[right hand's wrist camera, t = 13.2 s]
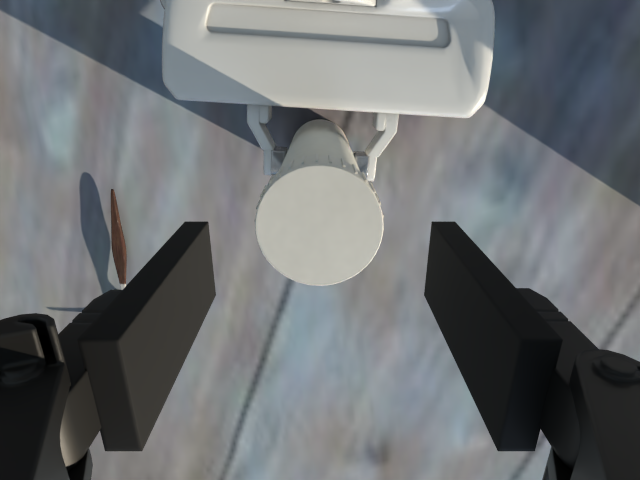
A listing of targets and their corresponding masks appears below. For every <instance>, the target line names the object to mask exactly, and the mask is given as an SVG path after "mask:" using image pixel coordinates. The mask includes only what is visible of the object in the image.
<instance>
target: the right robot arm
mask: <svg viewBox="0 0 640 480" xmlns="http://www.w3.org/2000/svg"><path fill="white" fill-rule="evenodd" d="M215 296H216V292H215V283H214V273H213V264H212V254H211V244H210V235H209V225H208V222H184V223H183V225H182V226H181V227H180V228H179V229H178V230H177V231H176V232H175V233H174V234H173V235H172V237H171V238H170V239H169V240H168V241H167V242H166V243H165V244H164V245H163V246H162V247H161V249H160V250H159V251H158V252H157V253H156V254H155V255H154V256H153V257H152V258H151V259H150V261H149V262H148V263H147V264H146V265H145V266H144V267H143V268H142V269H141V270H140V272H139V273H138V274H137V275H136V276H135V277H134V278H133V279H132V280H131V281H130V282H129V284H128V285H127V286H126V287H125V288H124V289H123V290H110V291H108V292H106V293H104V294H103V295H101V296H99V297H97V298H95V299H94V300H93V301H92V302H91V303H90V304H89V305H88V306H87V307H85V308H84V309H83V310H82V313H79V314H78V315H77V316H76V317H75V318H74V319H73V320H72V321H73V322H72V323H69V324H68V325H67V326H66V327H65V328H64V329H63V330H62V331H61V332H60V333H59V334H58V332H57V329H56V325H55V321H54V319H53V318H51V317H50V316H48V315H45V314H37V313H34V314H23V315H17V316H13V317H9V318H5V319H2V320H0V480H91V475H92V467H93V464H92V458H91V454H90V450H89V447H90V445H91V444H92V442H93V440H94V439H95V437H96V436H97V434H98V432H99V431H100V432H101V436H102V440H103V444H104V448H105V451H142V450H143V448H144V446H145V444H146V442H147V440H148V437H149V435H150V433H151V431H152V429H153V427H154V425H155V423H156V420H157V418H158V416H159V414H160V412H161V410H162V408H163V406H164V404H165V401H166V399H167V397H168V395H169V393H170V391H171V389H172V387H173V384H174V382H175V380H176V378H177V376H178V374H179V372H180V370H181V368H182V365H183V363H184V361H185V359H186V357H187V355H188V353H189V351H190V348H191V346H192V344H193V342H194V340H195V338H196V336H197V334H198V332H199V329H200V327H201V325H202V323H203V321H204V319H205V317H206V315H207V313H208V310H209V308H210V306H211V304H212V302H213V300H214V298H215ZM424 296H425V298H426V300H427V302H428V304H429V306H430V308H431V310H432V313H433V315H434V317H435V319H436V321H437V323H438V325H439V327H440V329H441V332H442V334H443V336H444V338H445V340H446V342H447V344H448V346H449V349H450V351H451V353H452V355H453V357H454V359H455V361H456V363H457V365H458V368H459V370H460V372H461V374H462V376H463V378H464V380H465V382H466V384H467V387H468V389H469V391H470V393H471V395H472V397H473V399H474V401H475V404H476V406H477V408H478V410H479V412H480V414H481V416H482V418H483V420H484V423H485V425H486V427H487V429H488V431H489V433H490V435H491V437H492V440H493V442H494V444H495V446H496V448H497V450H498V451H535V448H536V444H537V440H538V436H539V432H540V428H541V430H542V432H543V433H544V435H545V437H546V438H547V440H548V441H549V443H550V445H551V450H550V454H549V457H548V461H547V465H546V468H545V472H544V476H543V479H542V480H640V362H639V361H637V360H634V359H632V358H630V357H628V356H626V355H623V354H619V353H616V352H612V351H609V350H600V349H598V348H597V347H596V346H595V345H594V344H593V343H592V342H591V341H590V340H589V339H588V338H587V337H586V336H585V335H584V334H583V333H582V332H581V331H580V330H579V329H578V328H577V327H576V326H575V325H574V324H573V323H572V322H571V321H568V318H566V317H565V316H564V315H563V314H562V313H561V312H558V309H557V308H556V307H555V306H554V305H553V304H552V303H551V302H550V301H549V300H548V299H547V298H546V297H544V296H542V295H540V294H538V293H537V292H535V291H533V290H531V289H529V288H515V287H514V286H513V285H512V284H511V282H510V281H509V280H508V279H507V278H506V277H505V276H504V275H503V274H502V273H501V272H500V270H499V269H498V268H497V267H496V266H495V265H494V264H493V263H492V262H491V261H490V259H489V258H488V257H487V256H486V255H485V254H484V253H483V252H482V251H481V250H480V249H479V247H478V246H477V245H476V244H475V243H474V242H473V241H472V240H471V239H470V238H469V237H468V235H467V234H466V233H465V232H464V231H463V230H462V229H461V228H460V227H459V226H458V225H457V223H456V222H432V225H431V235H430V244H429V254H428V264H427V273H426V283H425V292H424Z"/></svg>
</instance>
